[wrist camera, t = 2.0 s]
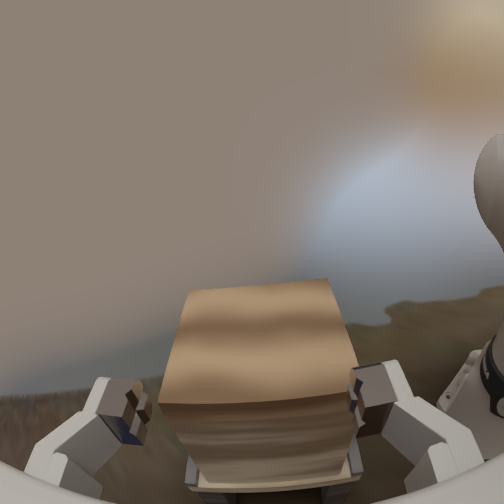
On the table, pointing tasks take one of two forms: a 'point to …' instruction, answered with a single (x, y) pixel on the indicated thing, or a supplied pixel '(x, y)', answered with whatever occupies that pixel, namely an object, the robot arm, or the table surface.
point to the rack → (331, 486)
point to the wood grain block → (261, 383)
